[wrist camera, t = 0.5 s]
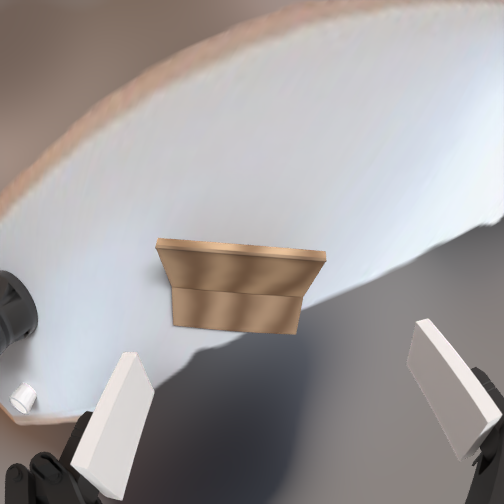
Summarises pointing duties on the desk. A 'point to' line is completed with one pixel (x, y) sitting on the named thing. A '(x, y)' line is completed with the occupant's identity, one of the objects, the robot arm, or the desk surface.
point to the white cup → (23, 398)
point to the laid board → (235, 311)
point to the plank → (239, 267)
